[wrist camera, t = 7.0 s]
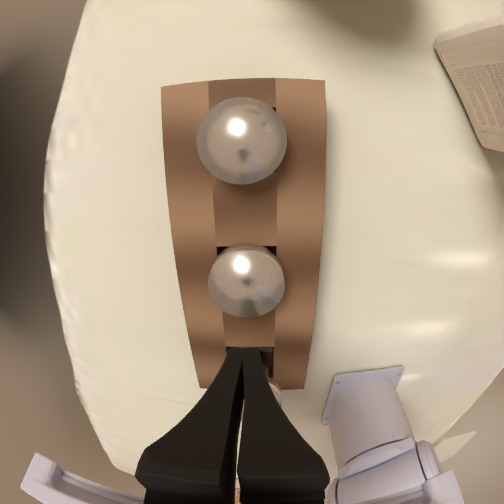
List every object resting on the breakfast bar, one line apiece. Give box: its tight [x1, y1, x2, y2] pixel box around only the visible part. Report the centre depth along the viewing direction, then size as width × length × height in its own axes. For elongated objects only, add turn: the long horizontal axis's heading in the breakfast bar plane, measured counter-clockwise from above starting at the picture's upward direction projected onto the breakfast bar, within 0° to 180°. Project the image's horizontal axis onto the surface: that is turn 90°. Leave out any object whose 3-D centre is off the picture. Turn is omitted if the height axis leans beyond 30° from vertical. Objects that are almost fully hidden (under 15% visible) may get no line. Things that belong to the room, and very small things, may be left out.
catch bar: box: [161, 78, 326, 390], centre depth 19 cm, size 23×9×3 cm, turn 1°
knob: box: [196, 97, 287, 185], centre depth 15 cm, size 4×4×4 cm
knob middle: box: [208, 243, 285, 318], centre depth 18 cm, size 4×4×4 cm
